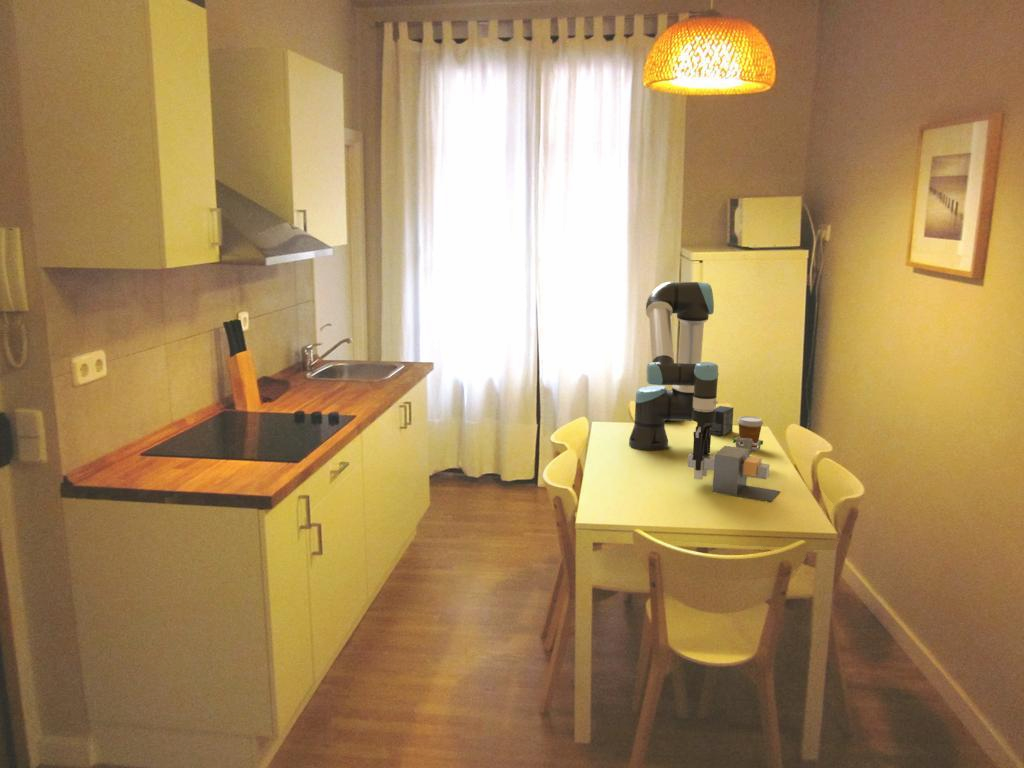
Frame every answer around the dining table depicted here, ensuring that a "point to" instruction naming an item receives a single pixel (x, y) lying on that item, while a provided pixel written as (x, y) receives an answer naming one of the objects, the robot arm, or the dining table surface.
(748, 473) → the block
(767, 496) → the mat
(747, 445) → the mechanical component
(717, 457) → the block
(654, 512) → the dining table surface
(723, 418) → the small box
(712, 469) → the shaft
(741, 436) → the disposable coffee cup
